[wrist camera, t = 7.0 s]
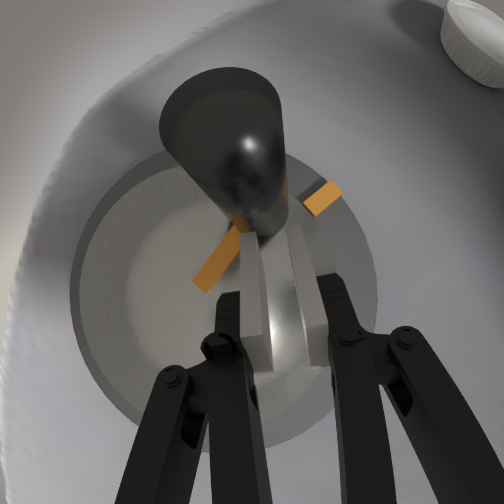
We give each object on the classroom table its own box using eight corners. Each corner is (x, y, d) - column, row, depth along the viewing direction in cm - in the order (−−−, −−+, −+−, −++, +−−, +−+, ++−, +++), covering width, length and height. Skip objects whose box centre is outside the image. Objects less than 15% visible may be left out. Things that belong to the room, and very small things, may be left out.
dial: (227, 462, 19) (169, 585, 6) (63, 312, 22) (-65, 315, 9) (386, 272, 19) (506, 242, 7) (185, 133, 23) (104, 18, 10)
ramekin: (479, 29, 22) (492, 4, 17) (526, 98, 20) (547, 76, 15) (414, 22, 23) (425, -9, 18) (466, 98, 22) (488, 68, 16)
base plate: (268, 98, 24) (266, 86, 22) (423, 355, 20) (433, 360, 18) (49, 242, 25) (37, 239, 23) (161, 475, 21) (154, 485, 19)
